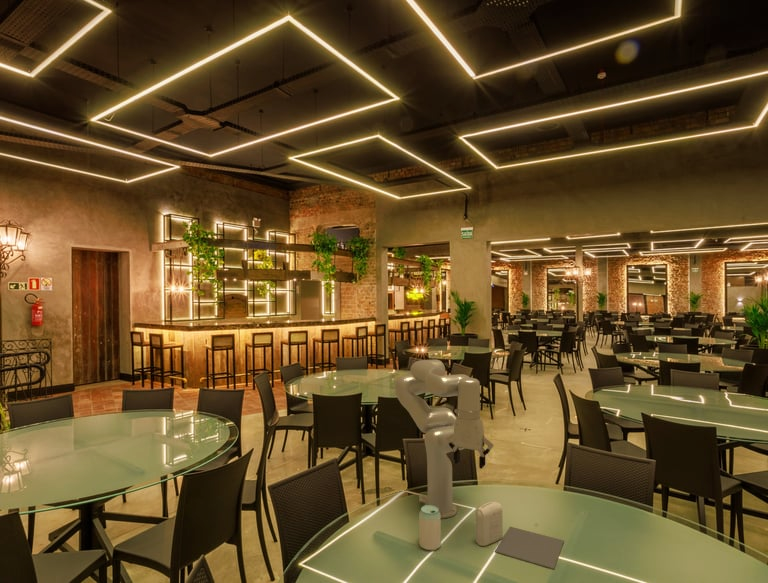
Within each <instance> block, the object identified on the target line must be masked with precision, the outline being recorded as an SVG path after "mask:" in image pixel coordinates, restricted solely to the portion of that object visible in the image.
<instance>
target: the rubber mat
mask: <svg viewBox="0 0 768 583" xmlns="http://www.w3.org/2000/svg"><path fill="white" fill-rule="evenodd" d="M564 542H565V540H563V539H559V538H556V537H552V536H547V535H545V534H544V535H543V534H540V533H536V532H532V531H529V530H526V529H521V528H518V527H513V526H509V527H508V529H507V530H506V532H505V534H504V535H503V537H502V539H500V542H499V543H498V545H497V547H496V548H495V550H494V553H495V554H498V555H503V556H506V557H509V558H512V559H516V560H519V561H523V562H527V563H530V564H534V565H535V566H540V567H542V568H545V569H550V570H555V569H556V566H557V562H558V560H559V557H560V554H561V552H562V549H561V548H563V545H564ZM560 551H561V552H560Z"/></svg>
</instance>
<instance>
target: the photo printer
mask: <svg viewBox="0 0 768 583" xmlns="http://www.w3.org/2000/svg"><path fill="white" fill-rule="evenodd" d="M503 532H504V531H503V507H502V504H501V503H499V502H498V501H489V502H486V503H484V504H482V505H481V506H479V507H478V508H477V509H476V510H475V541H476V544H477V545H478V546H481V547H485V546H489V545H491V544H494V543H495V542H498V541H501V540H502V538H503V537H504V535H503Z"/></svg>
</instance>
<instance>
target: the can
mask: <svg viewBox="0 0 768 583" xmlns="http://www.w3.org/2000/svg"><path fill="white" fill-rule="evenodd" d="M438 510H439V509H438V508H437V507H436V506H433V505H426V506H424V505H423V506H422V507H421V508H420V511H419V513H418V522H419V524H418V528H419V529H418V532H419V535H418V539H419V541H418V542H419V546H420V547H421V548H423V549H424V550H426V551H435V550H437V549H439V548H440V547H441V545H442V541H441V540H442V538H441V537H442V534H441V533H442V532H441V528H442V526H441V525H442V522H441V519H442V518H441V514H440V512H439V511H438Z"/></svg>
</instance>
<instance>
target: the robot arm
mask: <svg viewBox="0 0 768 583" xmlns="http://www.w3.org/2000/svg"><path fill="white" fill-rule="evenodd" d="M480 384H481V382H480V380H478V379H477V378H475V377H474V378H473V377H470V376H469V375H467V374H462V373H461V374H448V375H446V367H445V364H444V363H443V362H442V360H439V359H436V358H435V359H423V360H417V361H415V362H413V363H412V365H411V367H410V374H404V375H402V376H399V377H397V378H396V380H395V382H394V390H395V394H396V398H397V400H398V401H399V403H400V404H401V406H402V407H403V408H405V409H406V411H407V412H408V413H409V415H410V416H411V418H412V419H413V421H414V423H415V424H416V426H417V428H418V429H419V430H420V431H421V432H422V433H424V437H423V438H424V445H425V447H424V448H425V451H426V463H427V465H426V467H427V470H426V473H427V495H425V494H422V493H419V495H418V502H420V503H423V506H426V505H433V506H436V507H437V508H438V509H439V510H438V511H439V512H440V514H441V519H447V518H452V517H454V516H456V514H457V506H456V505H455V504H454V503H453V465H452V461H451V460H450V458H449V457H448V455H447V454H448V453H451V452H453V460H454V464H456V465H457V464H458V463H460V461H461V455H460V454H461V451H462V450H464V449H467V450H472V451H478V454H479V455H480V456H479V457H478V460H479V461H478V462H479V463H478V464H479V465H478V468H479V469H481V470H482V469H483V468H484V467H485V466H486V456H487V454H489V453H490V452H491V451H492V449H493V447H494V446H495V445H494V444H493V443H492V442H491V441H490V440H489V439H488V438H486V437H485V430H484V423H483V419H482V418H481V395H480V394H481V392H480V391H481V388H480V387H481V385H480ZM427 393H428V394H429V393H430V394H431V395H434V396H436V397H439V398H448V397H457V408H454V412H453V410H451V409H450V408H447V407H431V406H429V405H428V403H427V402H426V400H425V399H423V398H422V397H421V396H419V395H418V394H427ZM455 414H457V416H456V415H455ZM485 445H486V447H487V448H486V449H485V448H484V447H485Z"/></svg>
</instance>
